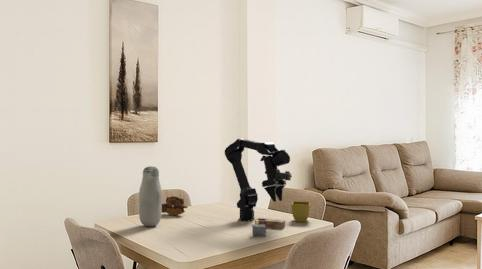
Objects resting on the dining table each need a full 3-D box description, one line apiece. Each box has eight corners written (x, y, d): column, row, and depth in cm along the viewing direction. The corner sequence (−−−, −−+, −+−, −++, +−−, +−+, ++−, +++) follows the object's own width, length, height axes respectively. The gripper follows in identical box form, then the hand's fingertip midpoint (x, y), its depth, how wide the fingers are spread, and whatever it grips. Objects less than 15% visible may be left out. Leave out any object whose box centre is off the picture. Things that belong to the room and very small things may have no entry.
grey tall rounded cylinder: (135, 227, 189) (135, 166, 188) (147, 223, 198) (147, 165, 198) (153, 229, 185) (153, 167, 185) (165, 224, 195) (165, 165, 195)
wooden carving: (157, 215, 218) (157, 196, 218) (161, 213, 222) (161, 195, 222) (185, 217, 212) (185, 197, 212) (189, 215, 217) (189, 196, 217)
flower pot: (309, 223, 198) (309, 204, 198) (291, 222, 200) (291, 204, 200) (310, 219, 207) (310, 201, 207) (292, 218, 209) (292, 201, 209)
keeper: (251, 234, 177) (251, 224, 177) (264, 233, 177) (264, 224, 177) (252, 236, 172) (252, 226, 172) (265, 236, 173) (265, 226, 173)
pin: (254, 229, 186) (254, 220, 185) (255, 228, 187) (255, 219, 187) (257, 229, 185) (257, 220, 185) (259, 228, 186) (259, 220, 186)
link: (254, 226, 191) (254, 220, 191) (258, 224, 196) (258, 217, 196) (282, 229, 186) (282, 222, 186) (285, 226, 191) (285, 220, 191)
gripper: (281, 163, 182) (288, 198, 179) (292, 165, 199) (299, 197, 196) (258, 169, 186) (265, 203, 183) (271, 170, 203) (277, 201, 200)
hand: (278, 201), depth 190 cm, fingers open, 9 cm apart
